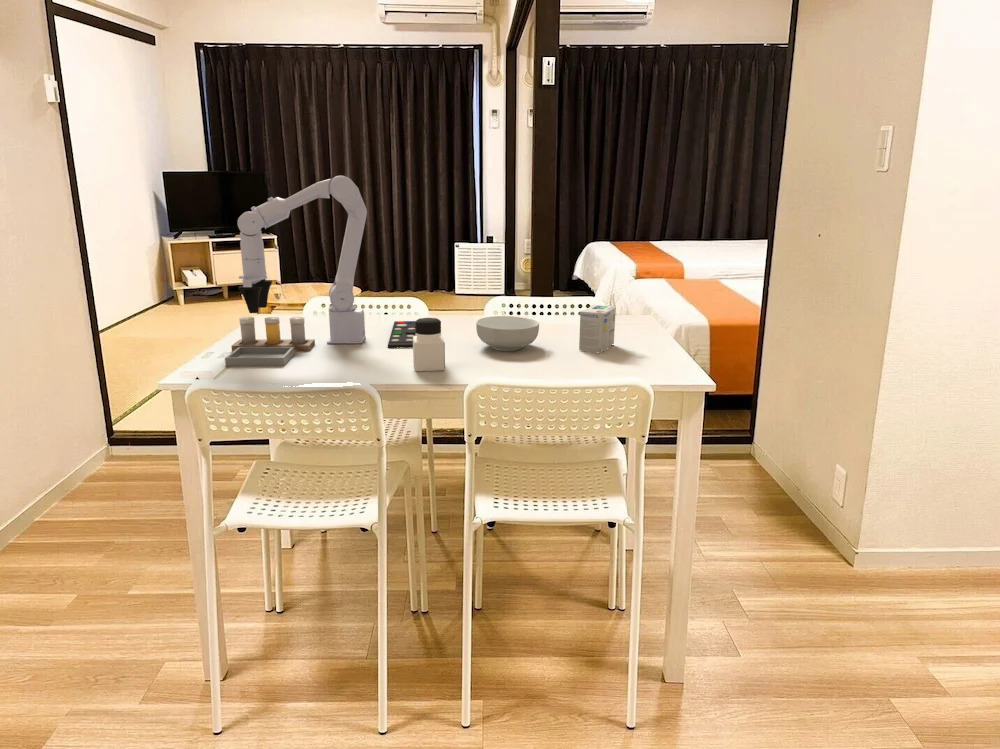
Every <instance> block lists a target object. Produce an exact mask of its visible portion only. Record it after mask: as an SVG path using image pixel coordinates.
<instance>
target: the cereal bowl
mask: <svg viewBox="0 0 1000 749" xmlns="http://www.w3.org/2000/svg"><path fill="white" fill-rule="evenodd" d="M475 328H476V329H475V330H476V333H477V337H478V338H479V340H481V342H482V343H484V344H486V345H488V346H489V347H492V348H493V349H494V350H497V349H498V351H503V350H506V351H505V352H509V351H511V352H512V350H513V351H517V350H518V351H519V350H521V349H522V348H523V347H526V346H529V345H531V344H532V343H533V342H534V341H535V340H536V339H537V337H538V335H539V332H540V322H539V321H538V320H536V319H532V318H527V317H520V316H514V315H513V316H509V315H506V316H505V315H496V316H495V315H494V316H487V317H481V318H480V319H477V320H476V325H475Z"/></svg>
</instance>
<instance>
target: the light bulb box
mask: <svg viewBox="0 0 1000 749" xmlns="http://www.w3.org/2000/svg"><path fill="white" fill-rule="evenodd" d="M616 308H617V307H616V306H611V305H598V304H592V305H591V306H589V307H588V308H586V309H584V310H582V311H581V310H580V312H579V313H580V314H579V315H580V317H579V337H578V338H579V339H578V340H579V344H578V351H579V350H582V351H581V352H586V351H589V352H588V353H594V352H599V353H598V354H602V353H604V352H605V351H607V350H608V349H610V348H611V347H612V346H611V345H612V344H614V345H615V328H616V310H617V309H616ZM610 346H611V347H610ZM609 347H610V348H609ZM607 348H608V349H607ZM606 349H607V350H606ZM603 351H604V352H603Z"/></svg>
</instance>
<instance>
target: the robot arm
mask: <svg viewBox="0 0 1000 749" xmlns="http://www.w3.org/2000/svg"><path fill="white" fill-rule="evenodd" d="M330 195H331V196H332V197H333V198H334V199H335V200H336V201H337V202H338V203H340V204H341V206H342V207H343V208H344V209H345V211H346V213H347V215H348V216H347V217H348V218H347V221H346V226H345V232H344V236H343V241H342V245H341V252H340V257H339V261H338V266H337V270H336V271H337V272H336V275H335V279H334V282H333V284H332V285H331V286H330V288H329V291H328V295H329V301H330V303H331V305H330V306H328V320H329V322H328V324H329V336H330V337H329V338H328V340H326V344H363V342H364V340H365V339H366V326H365V325H366V322H365V313H364V309H361V308H356V305H354V303H355V296H354V291H353V290H354V289H353V288H354V282H355V281H354V280H355V275H356V270H357V269H356V268H357V265H358V260H359V255H360V249H361V245H362V239H363V235H364V230H365V224H366V219H367V215H368V210H367V207H366V204H365V201H364V199H363V197H362V195H361V192H360V189H359V187H358V186H357V185H356V184H355V183H354V181H353V180H352V179H351V178H350V177H348V176H345V175H336V176H334V177H332V178H328V179H325V180H321V181H318V182H315V183H313V184H311V185H310V186H308V187H305V188H304V189H302V190H300V191H298V192H296V193H294V194H292V195H290V196H288V197H287V198H282V197H279V196H276V197H274V198H273V197H272V196H270V197H268V198H267V201H265V202H264V203H262V204H260V205H258V206H252V207H251V208H250V210H251V211H249V210H248V211H245V212H243V213H242V214H241V215H240V216H239V217H238V218H237V221H236V222H237V227H238V229H239V231H240V232H239V239H240V242H239V245H240V255H241V264H242V274H241V275H238V279H240V280H241V279H242V285H240V286H238V291H239V292H240V294H241V295H242V297H243V299H244V301H245V304H246V307H247V309H248V313H249V314H258V313H259V310H260V308H261V309H262V308H267V305H268V299H269V292H270V289H271V286H272V284H273V280H272V279H268V274H267V270H266V267H267V266H266V259H265V258H266V257H265V247H264V246H265V245H264V240H263V235H262V228H265V229H268V228H270V227H271V226H273V225H276V224H277V223H279V222H282V221H284V220H286V219H289V217H290V213H291V211H292V210H295V209H296V208H299V207H301V206H303V205H305V204H308V203H310V202H312V201H314V200H316V199H319V198H320V199H330V198H331V197H330Z"/></svg>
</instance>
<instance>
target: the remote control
mask: <svg viewBox="0 0 1000 749" xmlns="http://www.w3.org/2000/svg"><path fill="white" fill-rule="evenodd" d="M415 322H416V320H406V321H405V320H403V321H402V320H400V321H399V320H397V321H396V320H395V321H394V322H393V325H392V328H391V332H390V335H389V338H388V342H387V343H388V344H387V349H401V348H400V347H413V336H416V329H415ZM397 347H398V348H397Z"/></svg>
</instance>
